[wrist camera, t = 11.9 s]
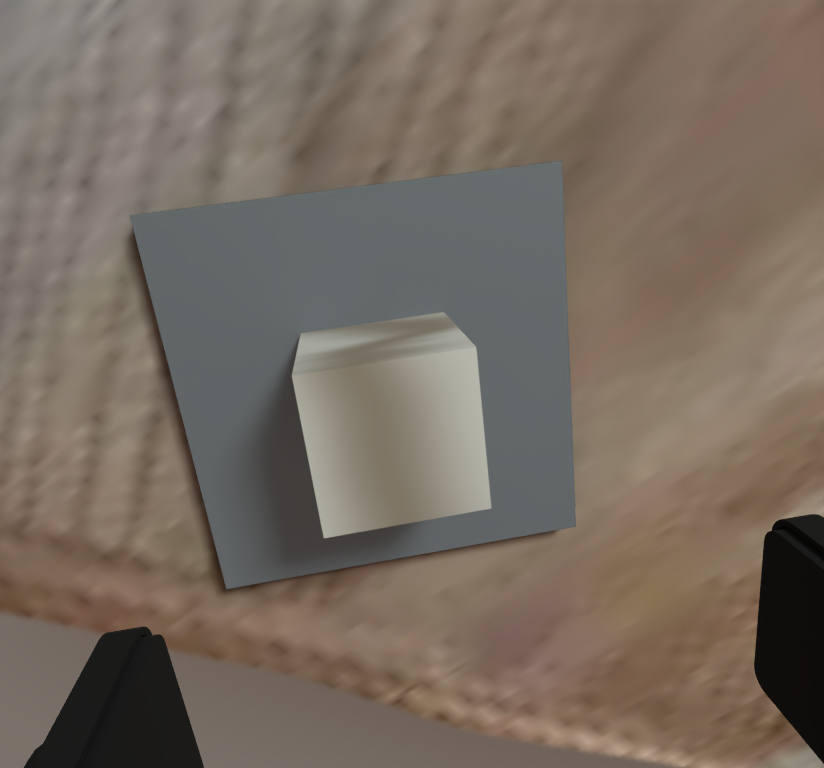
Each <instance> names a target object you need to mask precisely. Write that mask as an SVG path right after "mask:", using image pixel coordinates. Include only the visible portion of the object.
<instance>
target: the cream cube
mask: <svg viewBox="0 0 824 768" xmlns="http://www.w3.org/2000/svg"><path fill="white" fill-rule="evenodd" d="M292 380H293V385H294V390H295V395H296V400H297V405H298V410H299V415H300V420H301V425H302V430H303V435H304V440H305V445H306V451H307V456H308V461H309V466H310V471H311V476H312V481H313V486H314V491H315V496H316V501H317V506H318V511H319V516H320V521H321V527H322V532H323V537H324V538H329V537H335V536H340V535H346V534H351V533H357V532H363V531H368V530H374V529H379V528H385V527H391V526H396V525H402V524H407V523H413V522H419V521H424V520H430V519H435V518H441V517H447V516H452V515H458V514H463V513H469V512H475V511H480V510H486V509H491V498H490V488H489V477H488V466H487V456H486V445H485V434H484V424H483V413H482V402H481V392H480V381H479V370H478V360H477V349H476V346H475V345H474V344H473V343H472V342H471V341H470V340H469V339H468V338H467V336H466V335H465V334H464V333H463V332H462V331H461V330H460V329H459V328H458V327H457V326H456V325H455V324H454V322H453V321H452V320H451V319H450V318H449V317H448V316H447V315H446V314H445V313H444V312H440V313H434V314H427V315H420V316H414V317H407V318H400V319H394V320H387V321H381V322H374V323H367V324H361V325H354V326H347V327H341V328H334V329H327V330H321V331H314V332H307V333H301V334H300V339H299V343H298V348H297V353H296V358H295V363H294V367H293V372H292Z"/></svg>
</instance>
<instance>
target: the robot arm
mask: <svg viewBox="0 0 824 768" xmlns="http://www.w3.org/2000/svg"><path fill="white" fill-rule="evenodd" d="M754 668H755V674H756V677H757V680H758V682H759V684H760V686H761V688H762V689H763V691H764V692H765V693H766V695H767V696H768V697H769V698H770V699H771V701H772V702H773V703H774V704H775V705H776V707H777V708H778V709H779V710H780V712H781V713H782V714H783V715H784V716H785V718H786V719H787V720H788V721H789V722H790V724H791V725H792V726H793V727H794V728H795V730H796V731H797V732H798V733H799V734H800V736H801V737H802V738H803V739H804V740H805V742H806V743H807V744H808V745H809V747H810V748H811V749H812V750H813V751H814V753H815V754H816V755H817V756H818V757H819V759H820V760H821V761H822V762H823V763H824V517H822V516H820V515H815V514H811V515H805V516H799V517H793V518H787V519H781V520H778V521H776V522H775V524H774V525H773V528H772V531H770V532H767V534H766V535H765V539H764V549H763V562H762V574H761V587H760V599H759V612H758V624H757V637H756V649H755V662H754ZM24 768H204V767H203V763H202V759H201V756H200V753H199V749H198V747H197V743H196V740H195V737H194V733H193V730H192V727H191V724H190V720H189V717H188V714H187V711H186V708H185V704H184V701H183V698H182V695H181V691H180V688H179V685H178V682H177V679H176V676H175V672H174V669H173V666H172V662H171V660H170V656H169V653H168V649H167V646H166V643H165V640H164V638H163V637H162V636H161V635H153V636H152V633H151V631H150V630H149V629H148V628H147V627H138V628H132V629H126V630H120V631H114V632H109V633H106V634H104V635H102V637H101V638H100V639H99V641H98V643H97V645H96V646H95V648H94V650H93V652H92V654H91V656H90V658H89V659H88V661H87V663H86V665H85V667H84V669H83V671H82V672H81V674H80V676H79V678H78V680H77V682H76V683H75V685H74V687H73V689H72V691H71V693H70V695H69V696H68V698H67V700H66V702H65V704H64V706H63V708H62V709H61V711H60V713H59V715H58V717H57V719H56V721H55V723H54V724H53V726H52V728H51V730H50V732H49V733H48V735H47V738H46V739H45V741H44V743H43V744H42V745H41V746H40V747H38V748H37V749H36V750H35V751H34V753H33V754H32V755H31V757H30V758H29V760H28V761H27V763H26V765H25V767H24Z"/></svg>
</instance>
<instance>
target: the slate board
mask: <svg viewBox="0 0 824 768" xmlns="http://www.w3.org/2000/svg"><path fill="white" fill-rule="evenodd" d="M130 218H131V222H132V226H133V230H134V234H135V238H136V242H137V245H138V249H139V253H140V257H141V261H142V265H143V269H144V273H145V276H146V280H147V284H148V288H149V292H150V296H151V300H152V303H153V307H154V311H155V315H156V319H157V323H158V327H159V331H160V334H161V338H162V342H163V346H164V350H165V354H166V358H167V361H168V365H169V369H170V373H171V377H172V381H173V385H174V388H175V392H176V396H177V400H178V404H179V408H180V412H181V416H182V419H183V423H184V427H185V431H186V435H187V439H188V443H189V446H190V450H191V454H192V458H193V462H194V466H195V470H196V474H197V477H198V481H199V485H200V489H201V493H202V497H203V501H204V504H205V508H206V512H207V516H208V520H209V524H210V528H211V531H212V535H213V539H214V543H215V547H216V551H217V555H218V559H219V562H220V566H221V570H222V574H223V578H224V582H225V586H226V589H230V588H235V587H241V586H247V585H252V584H258V583H263V582H269V581H275V580H280V579H286V578H291V577H297V576H303V575H308V574H314V573H319V572H325V571H330V570H336V569H342V568H347V567H353V566H358V565H364V564H370V563H375V562H381V561H386V560H392V559H398V558H403V557H409V556H414V555H420V554H426V553H431V552H437V551H442V550H448V549H454V548H459V547H465V546H470V545H476V544H481V543H487V542H493V541H498V540H504V539H509V538H515V537H521V536H526V535H532V534H537V533H543V532H549V531H554V530H560V529H565V528H571V527H576V519H575V493H574V467H573V440H572V414H571V388H570V362H569V336H568V309H567V283H566V257H565V231H564V205H563V179H562V161H557V162H549V163H541V164H533V165H525V166H518V167H510V168H502V169H494V170H486V171H478V172H470V173H462V174H454V175H446V176H438V177H430V178H422V179H414V180H407V181H399V182H391V183H383V184H375V185H367V186H359V187H351V188H343V189H335V190H327V191H319V192H311V193H304V194H296V195H288V196H280V197H272V198H264V199H256V200H248V201H240V202H232V203H224V204H216V205H208V206H200V207H193V208H185V209H177V210H169V211H161V212H153V213H145V214H137V215H130ZM440 312H444V313H445V314H446V315H447V316H448V317H449V318H450V319H451V320H452V321H453V322H454V324H455V325H456V326H457V327H458V328H459V329H460V330H461V331H462V332H463V333H464V334H465V335H466V336H467V338H468V339H469V340H470V341H471V342H472V343H473V344H474V345H475V346H476V349H477V360H478V370H479V381H480V392H481V402H482V413H483V424H484V434H485V445H486V456H487V466H488V477H489V488H490V498H491V509H486V510H480V511H475V512H469V513H463V514H458V515H452V516H447V517H441V518H435V519H430V520H424V521H419V522H413V523H407V524H402V525H396V526H391V527H385V528H379V529H374V530H368V531H363V532H357V533H351V534H346V535H340V536H335V537H329V538H324V537H323V532H322V527H321V521H320V516H319V511H318V506H317V501H316V496H315V491H314V486H313V481H312V476H311V471H310V466H309V461H308V456H307V451H306V445H305V440H304V435H303V430H302V425H301V420H300V415H299V410H298V405H297V400H296V395H295V390H294V385H293V380H292V372H293V367H294V363H295V358H296V353H297V348H298V343H299V339H300V334H301V333H307V332H314V331H321V330H327V329H334V328H341V327H347V326H354V325H361V324H367V323H374V322H381V321H387V320H394V319H400V318H407V317H414V316H420V315H427V314H434V313H440Z"/></svg>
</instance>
